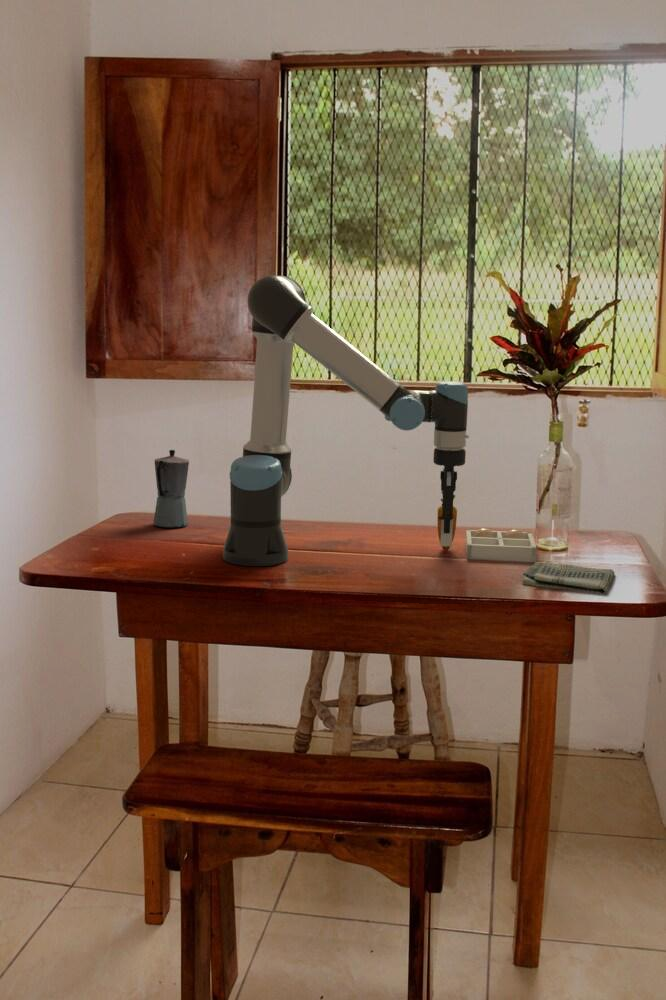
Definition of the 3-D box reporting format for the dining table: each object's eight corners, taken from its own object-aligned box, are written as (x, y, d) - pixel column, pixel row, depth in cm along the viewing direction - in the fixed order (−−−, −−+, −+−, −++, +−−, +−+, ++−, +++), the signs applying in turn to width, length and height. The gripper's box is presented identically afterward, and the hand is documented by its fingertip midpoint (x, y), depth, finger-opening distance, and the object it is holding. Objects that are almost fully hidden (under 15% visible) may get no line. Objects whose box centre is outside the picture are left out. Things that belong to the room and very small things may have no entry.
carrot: (459, 554, 253) (461, 492, 250) (439, 555, 252) (442, 493, 249) (451, 549, 258) (453, 489, 255) (432, 550, 256) (434, 489, 253)
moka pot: (197, 520, 284) (196, 447, 280) (178, 533, 269) (177, 455, 265) (163, 518, 286) (162, 445, 282) (143, 531, 271) (141, 454, 267)
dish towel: (616, 576, 237) (617, 563, 237) (606, 597, 221) (607, 583, 220) (533, 567, 244) (534, 554, 243) (518, 587, 227) (519, 573, 227)
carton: (535, 562, 247) (536, 547, 246) (466, 559, 248) (467, 544, 247) (530, 546, 262) (531, 532, 261) (465, 543, 264) (466, 529, 263)
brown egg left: (493, 548, 257) (494, 530, 256) (474, 548, 257) (475, 529, 256) (492, 544, 261) (493, 526, 260) (473, 543, 262) (474, 525, 261)
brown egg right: (524, 550, 256) (525, 531, 255) (505, 549, 256) (506, 531, 255) (523, 545, 260) (524, 527, 259) (504, 544, 261) (505, 526, 260)
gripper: (466, 454, 239) (462, 552, 244) (465, 442, 259) (461, 533, 263) (433, 453, 240) (429, 551, 245) (434, 441, 260) (431, 532, 264)
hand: (446, 542), depth 254 cm, fingers open, 7 cm apart
